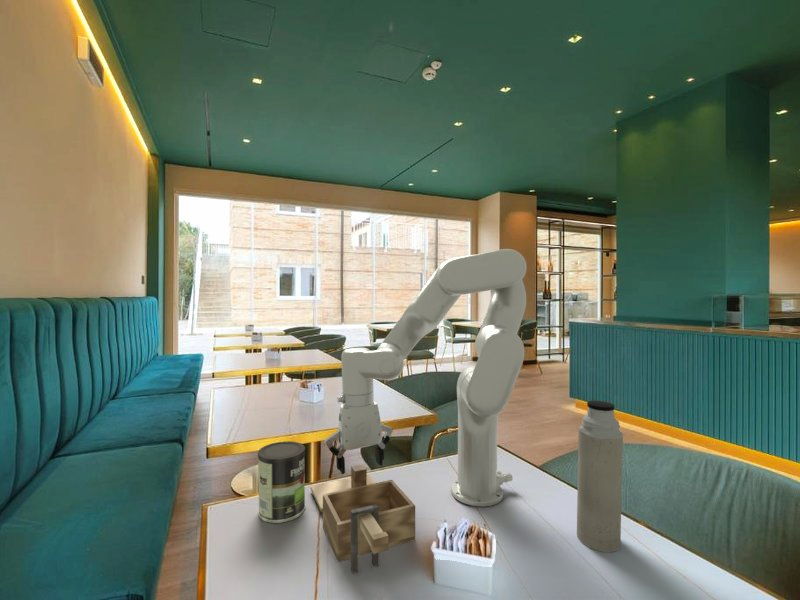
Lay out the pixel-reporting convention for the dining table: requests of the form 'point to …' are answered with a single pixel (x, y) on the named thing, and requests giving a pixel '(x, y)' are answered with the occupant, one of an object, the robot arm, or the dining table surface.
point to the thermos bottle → (599, 478)
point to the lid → (342, 484)
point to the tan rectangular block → (373, 533)
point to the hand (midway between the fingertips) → (360, 467)
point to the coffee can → (281, 481)
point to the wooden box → (376, 499)
